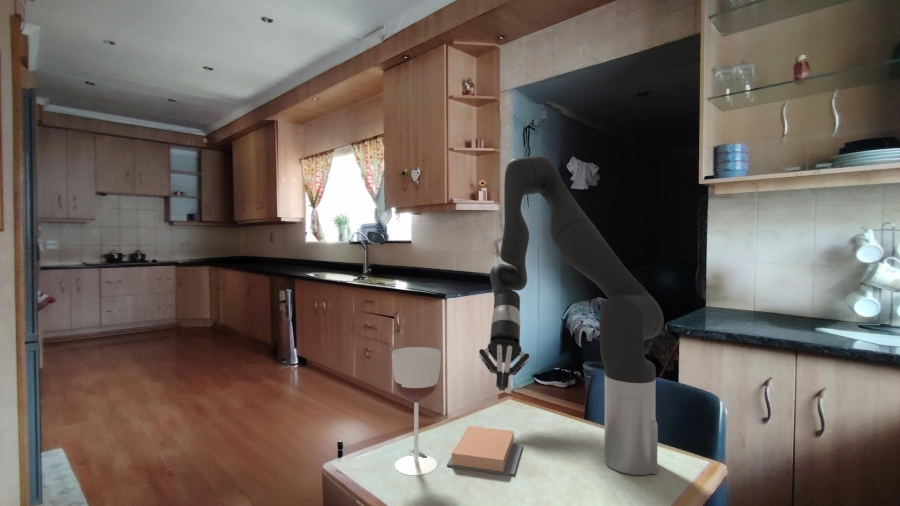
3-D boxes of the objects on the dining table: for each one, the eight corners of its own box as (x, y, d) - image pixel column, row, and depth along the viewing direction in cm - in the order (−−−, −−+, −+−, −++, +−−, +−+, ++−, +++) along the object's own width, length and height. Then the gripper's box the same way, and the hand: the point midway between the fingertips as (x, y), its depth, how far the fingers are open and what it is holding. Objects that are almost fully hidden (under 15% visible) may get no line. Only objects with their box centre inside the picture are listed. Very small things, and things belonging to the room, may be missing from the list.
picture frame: (514, 431, 96) (503, 460, 82) (513, 441, 96) (503, 472, 82) (469, 425, 99) (451, 453, 85) (469, 436, 99) (451, 465, 85)
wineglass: (439, 476, 82) (440, 357, 82) (388, 475, 82) (388, 356, 82) (441, 454, 91) (441, 347, 91) (394, 453, 91) (395, 346, 91)
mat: (522, 446, 95) (522, 444, 95) (514, 476, 82) (514, 473, 82) (463, 439, 98) (463, 437, 98) (447, 466, 86) (447, 464, 86)
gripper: (480, 316, 114) (474, 379, 103) (532, 320, 112) (531, 385, 101) (480, 331, 120) (474, 392, 108) (529, 336, 118) (528, 398, 107)
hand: (502, 389), depth 105 cm, fingers closed
